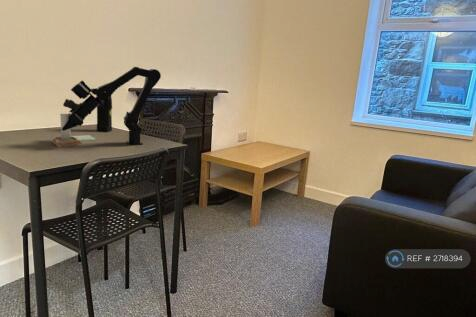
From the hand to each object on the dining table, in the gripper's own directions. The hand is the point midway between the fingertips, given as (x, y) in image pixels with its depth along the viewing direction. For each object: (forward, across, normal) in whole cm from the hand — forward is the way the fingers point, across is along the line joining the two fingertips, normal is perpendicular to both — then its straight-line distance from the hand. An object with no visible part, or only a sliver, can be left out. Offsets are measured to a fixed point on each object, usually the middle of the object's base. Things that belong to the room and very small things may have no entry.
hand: (62, 129), depth 160 cm
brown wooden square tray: (+4, 0, +6) cm, 7 cm away
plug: (+4, 0, +6) cm, 7 cm away
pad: (-1, -12, +11) cm, 16 cm away
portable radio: (-10, -34, +20) cm, 41 cm away
